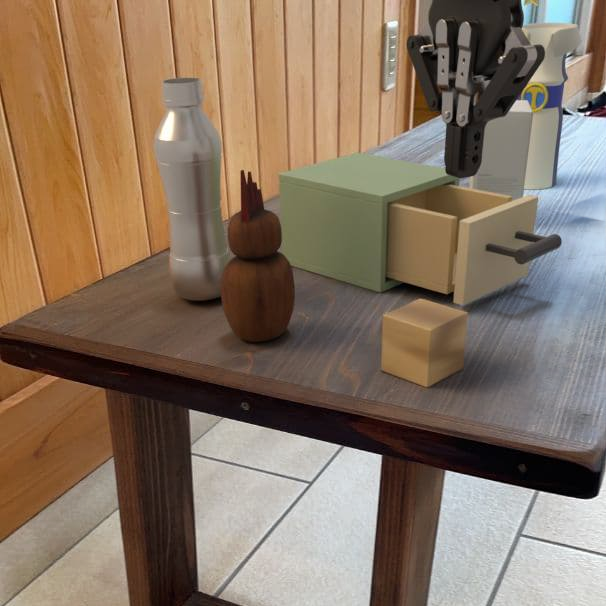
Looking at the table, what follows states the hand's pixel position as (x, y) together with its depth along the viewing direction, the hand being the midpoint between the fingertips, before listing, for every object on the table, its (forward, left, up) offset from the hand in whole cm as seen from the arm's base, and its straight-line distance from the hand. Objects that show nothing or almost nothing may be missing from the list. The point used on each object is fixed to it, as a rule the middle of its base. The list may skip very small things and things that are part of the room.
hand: (461, 175), depth 68 cm
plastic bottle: (+6, -27, -15) cm, 31 cm away
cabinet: (-13, -21, -15) cm, 29 cm away
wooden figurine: (+9, -15, -15) cm, 23 cm away
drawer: (-13, -8, -14) cm, 20 cm away
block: (+5, +1, -15) cm, 16 cm away
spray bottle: (-54, -26, -15) cm, 62 cm away
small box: (-36, -20, -15) cm, 44 cm away
